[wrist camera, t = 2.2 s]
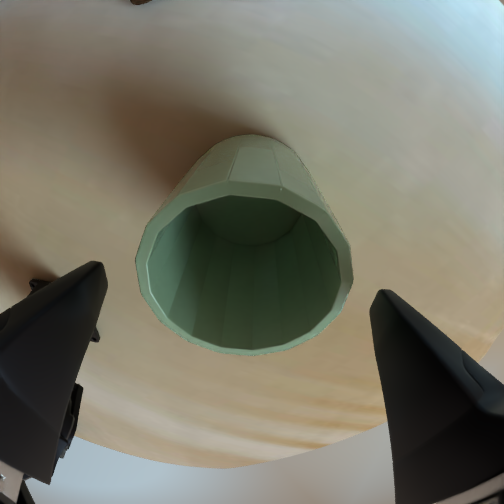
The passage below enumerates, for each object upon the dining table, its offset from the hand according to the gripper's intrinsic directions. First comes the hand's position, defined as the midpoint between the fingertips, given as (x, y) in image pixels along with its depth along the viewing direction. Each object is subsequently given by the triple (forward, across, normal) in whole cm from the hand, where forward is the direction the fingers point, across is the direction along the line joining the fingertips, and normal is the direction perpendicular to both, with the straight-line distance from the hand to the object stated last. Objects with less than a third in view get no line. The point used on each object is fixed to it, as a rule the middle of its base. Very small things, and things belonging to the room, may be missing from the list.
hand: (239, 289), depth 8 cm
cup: (+8, 0, 0) cm, 8 cm away
